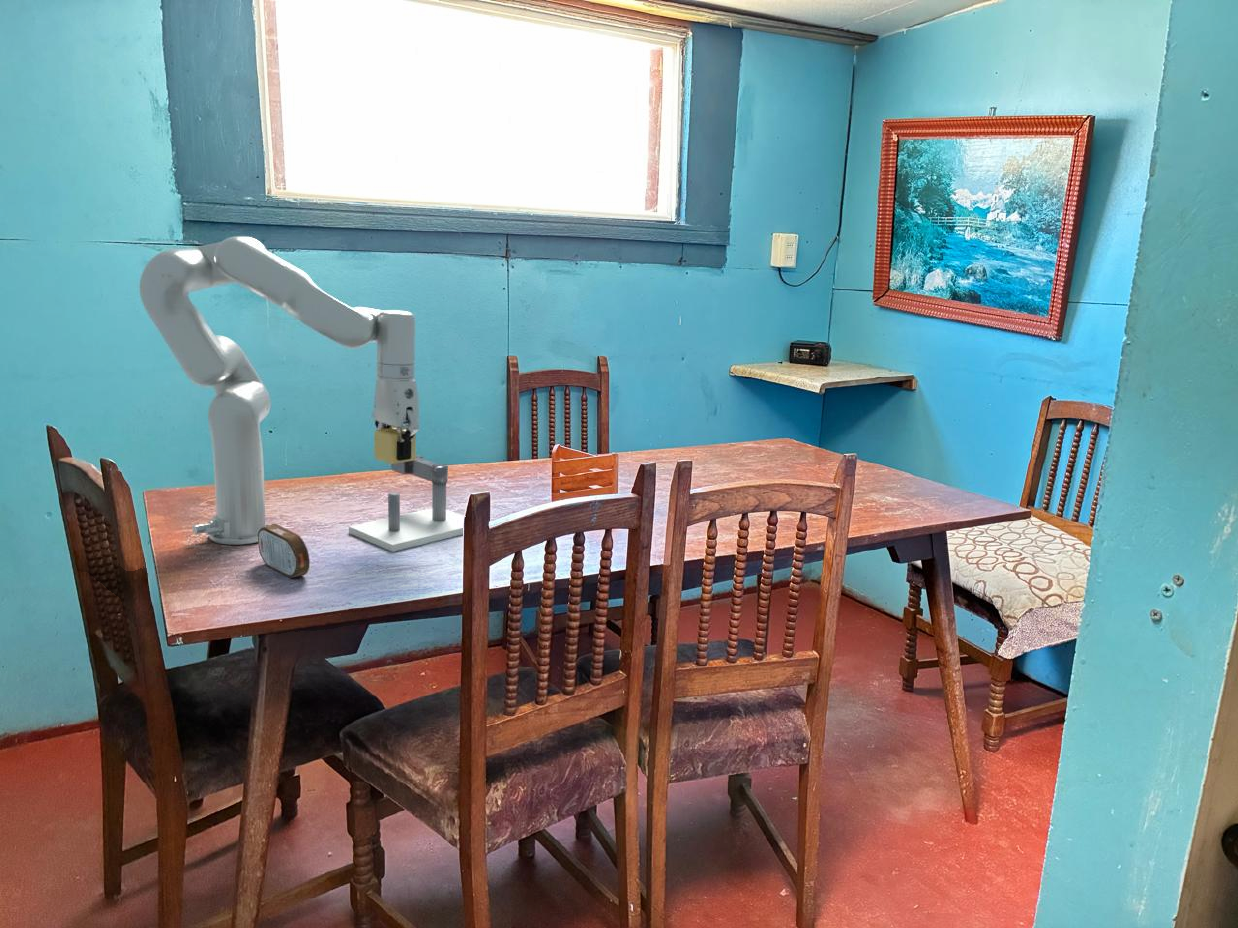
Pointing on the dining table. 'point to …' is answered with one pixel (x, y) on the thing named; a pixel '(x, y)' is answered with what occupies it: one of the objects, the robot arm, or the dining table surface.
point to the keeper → (423, 469)
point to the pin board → (412, 524)
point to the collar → (390, 446)
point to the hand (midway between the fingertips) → (394, 455)
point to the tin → (283, 550)
